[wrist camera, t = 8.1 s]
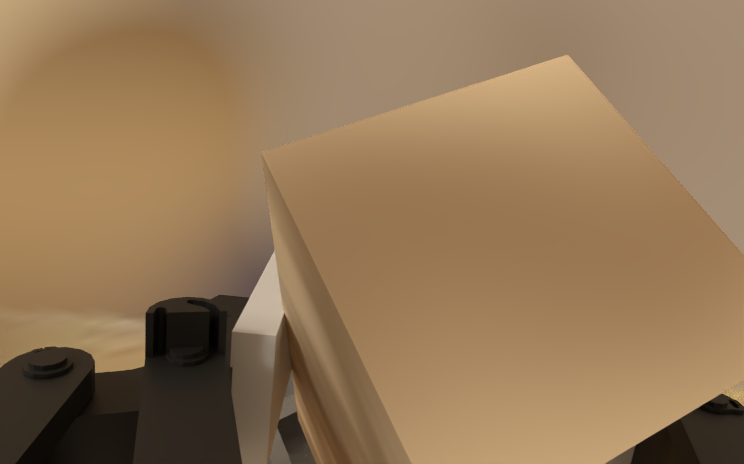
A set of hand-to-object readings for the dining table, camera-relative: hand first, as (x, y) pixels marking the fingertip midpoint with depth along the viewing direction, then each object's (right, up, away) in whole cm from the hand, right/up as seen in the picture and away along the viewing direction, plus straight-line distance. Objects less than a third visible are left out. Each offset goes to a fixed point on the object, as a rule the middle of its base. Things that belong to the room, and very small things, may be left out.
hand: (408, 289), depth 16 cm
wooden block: (-1, -6, +3) cm, 7 cm away
